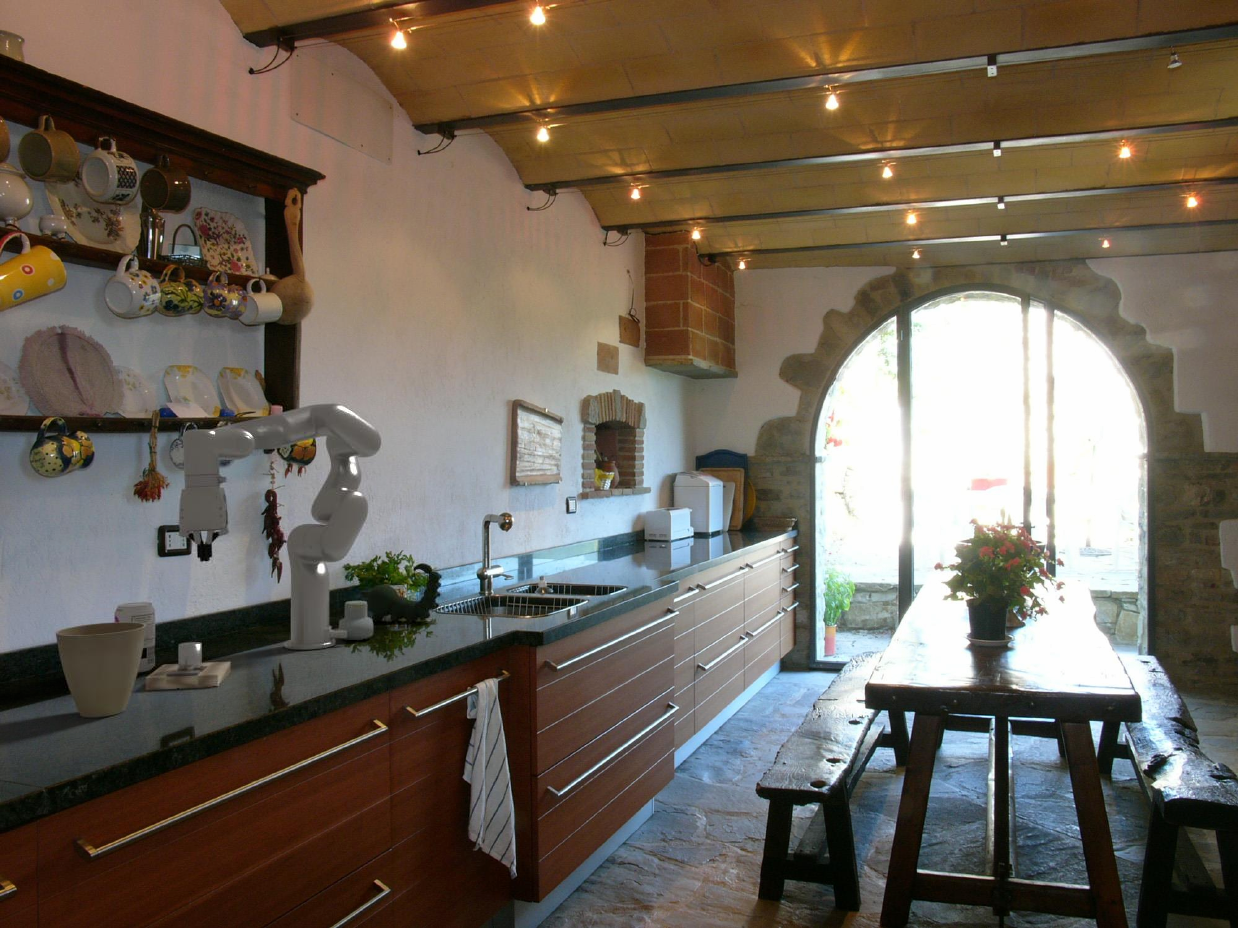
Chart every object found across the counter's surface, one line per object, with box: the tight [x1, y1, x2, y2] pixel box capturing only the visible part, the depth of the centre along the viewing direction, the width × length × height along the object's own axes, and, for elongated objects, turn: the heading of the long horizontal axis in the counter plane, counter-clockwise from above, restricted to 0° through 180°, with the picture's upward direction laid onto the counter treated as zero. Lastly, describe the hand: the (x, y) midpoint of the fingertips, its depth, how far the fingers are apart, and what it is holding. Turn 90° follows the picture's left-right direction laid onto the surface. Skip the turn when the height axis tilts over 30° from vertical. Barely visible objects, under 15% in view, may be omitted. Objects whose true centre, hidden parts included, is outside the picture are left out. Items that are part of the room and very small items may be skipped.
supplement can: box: [114, 601, 156, 674], centre depth 215 cm, size 8×8×15 cm
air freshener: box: [338, 600, 374, 641], centre depth 254 cm, size 11×8×10 cm
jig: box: [145, 661, 232, 691], centre depth 203 cm, size 14×14×3 cm
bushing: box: [177, 641, 203, 672], centre depth 203 cm, size 5×5×8 cm
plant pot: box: [55, 621, 146, 718], centre depth 177 cm, size 15×15×16 cm
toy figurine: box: [358, 562, 442, 624], centre depth 283 cm, size 9×19×25 cm
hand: (205, 560), depth 219 cm, fingers closed
